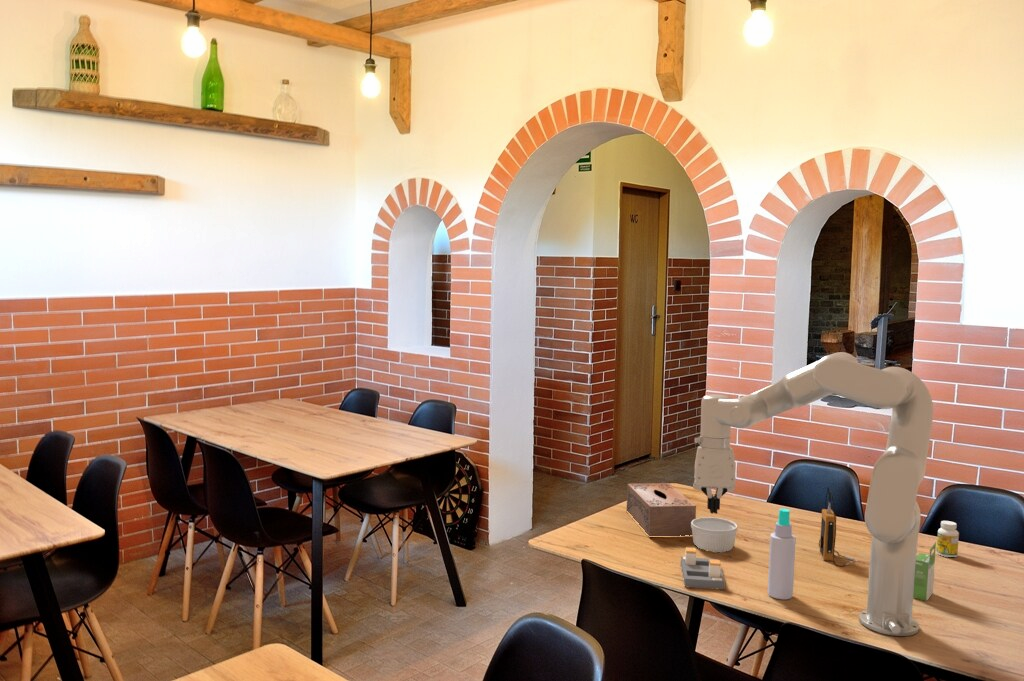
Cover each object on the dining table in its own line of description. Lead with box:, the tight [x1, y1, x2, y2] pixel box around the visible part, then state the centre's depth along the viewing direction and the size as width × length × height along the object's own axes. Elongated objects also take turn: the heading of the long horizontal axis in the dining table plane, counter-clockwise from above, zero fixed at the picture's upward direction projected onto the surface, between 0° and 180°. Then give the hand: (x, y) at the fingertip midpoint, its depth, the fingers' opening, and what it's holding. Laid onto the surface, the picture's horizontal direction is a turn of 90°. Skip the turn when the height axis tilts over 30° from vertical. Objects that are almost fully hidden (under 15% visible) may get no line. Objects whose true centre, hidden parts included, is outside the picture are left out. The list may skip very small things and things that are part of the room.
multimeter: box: [818, 486, 861, 567], centre depth 232 cm, size 15×10×20 cm
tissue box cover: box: [626, 482, 697, 536], centre depth 260 cm, size 26×14×10 cm, turn 7°
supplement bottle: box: [936, 520, 960, 558], centre depth 237 cm, size 5×5×10 cm
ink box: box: [913, 541, 937, 602], centre depth 207 cm, size 7×4×13 cm, turn 141°
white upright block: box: [708, 558, 721, 578], centre depth 212 cm, size 3×3×5 cm
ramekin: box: [691, 516, 738, 553], centre depth 240 cm, size 13×13×7 cm
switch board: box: [680, 556, 726, 590], centre depth 217 cm, size 16×10×2 cm, turn 172°
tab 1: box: [684, 547, 697, 565], centre depth 221 cm, size 3×3×5 cm
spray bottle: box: [767, 508, 797, 600], centre depth 204 cm, size 6×6×22 cm
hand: (713, 511), depth 213 cm, fingers closed
